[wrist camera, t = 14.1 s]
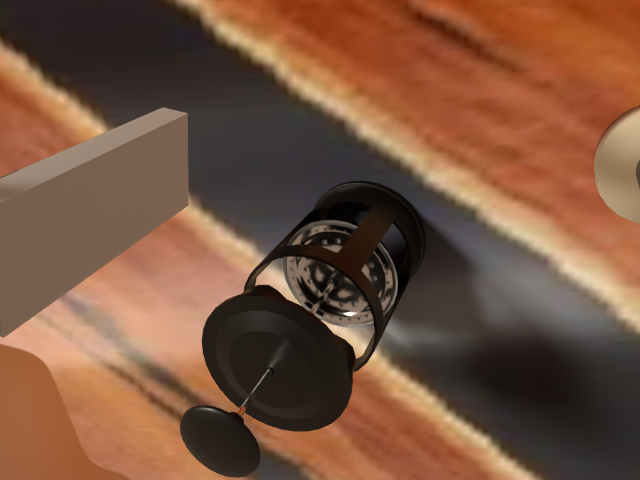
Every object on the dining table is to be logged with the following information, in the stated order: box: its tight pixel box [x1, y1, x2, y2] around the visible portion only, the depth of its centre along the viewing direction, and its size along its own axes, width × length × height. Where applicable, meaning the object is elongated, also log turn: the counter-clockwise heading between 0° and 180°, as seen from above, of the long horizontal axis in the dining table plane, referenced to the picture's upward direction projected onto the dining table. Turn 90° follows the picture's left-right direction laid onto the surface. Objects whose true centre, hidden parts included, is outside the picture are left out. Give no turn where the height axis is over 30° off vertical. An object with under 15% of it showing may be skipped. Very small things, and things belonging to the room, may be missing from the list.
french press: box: [180, 181, 425, 478], centre depth 36 cm, size 12×9×23 cm
